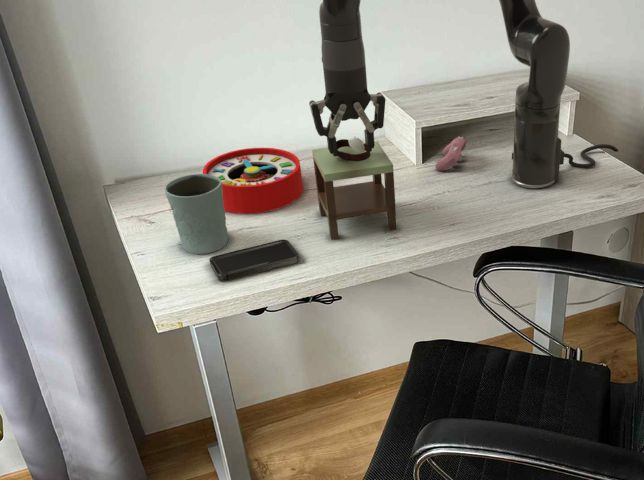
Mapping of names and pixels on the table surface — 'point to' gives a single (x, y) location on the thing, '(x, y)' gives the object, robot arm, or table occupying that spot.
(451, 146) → the video game controller
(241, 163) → the toy clock
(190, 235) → the grey-green cup
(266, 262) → the phone
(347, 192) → the small side table
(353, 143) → the watch
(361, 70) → the robot arm
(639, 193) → the table surface
